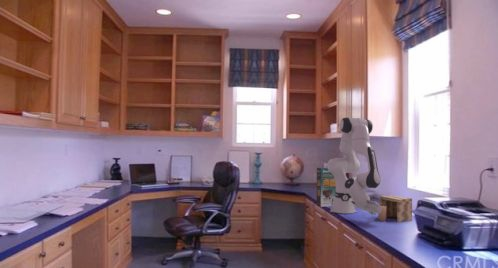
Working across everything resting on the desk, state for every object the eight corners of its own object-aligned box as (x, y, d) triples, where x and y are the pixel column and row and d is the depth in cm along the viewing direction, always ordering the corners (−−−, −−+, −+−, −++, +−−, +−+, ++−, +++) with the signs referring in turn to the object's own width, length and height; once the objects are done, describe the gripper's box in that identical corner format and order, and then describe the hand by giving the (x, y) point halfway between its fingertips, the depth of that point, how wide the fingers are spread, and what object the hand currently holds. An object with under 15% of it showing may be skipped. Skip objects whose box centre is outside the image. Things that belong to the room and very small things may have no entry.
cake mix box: (339, 204, 309) (340, 167, 310) (344, 205, 303) (344, 167, 304) (316, 205, 301) (316, 167, 302) (320, 206, 295) (321, 168, 296)
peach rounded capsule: (378, 219, 249) (378, 205, 249) (386, 219, 247) (386, 205, 248) (378, 220, 244) (378, 206, 244) (386, 221, 243) (386, 207, 243)
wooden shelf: (398, 221, 241) (399, 199, 242) (379, 217, 256) (379, 196, 256) (411, 220, 247) (412, 198, 247) (392, 215, 261) (392, 195, 261)
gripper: (377, 198, 230) (389, 213, 234) (353, 193, 248) (365, 207, 252) (372, 206, 228) (383, 220, 232) (348, 201, 246) (360, 215, 250)
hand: (373, 214), depth 242 cm, fingers closed
